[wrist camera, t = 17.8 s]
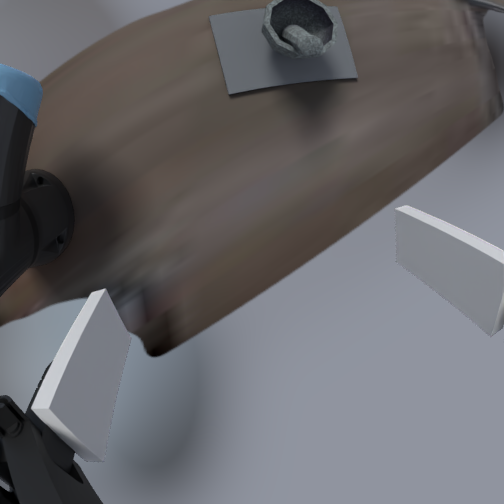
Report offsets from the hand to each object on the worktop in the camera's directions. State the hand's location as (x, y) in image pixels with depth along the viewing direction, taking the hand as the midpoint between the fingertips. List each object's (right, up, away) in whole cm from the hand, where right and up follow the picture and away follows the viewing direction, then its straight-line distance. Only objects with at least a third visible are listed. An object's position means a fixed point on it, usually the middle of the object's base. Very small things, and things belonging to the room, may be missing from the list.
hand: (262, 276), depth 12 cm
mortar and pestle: (+5, +31, +22) cm, 38 cm away
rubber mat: (+5, +31, +22) cm, 38 cm away
